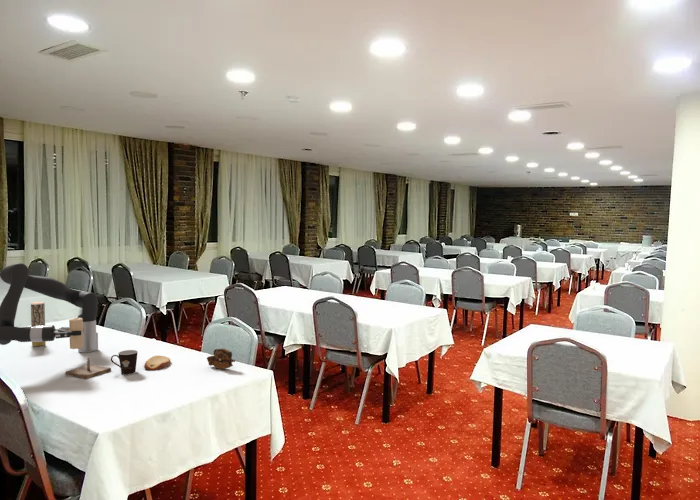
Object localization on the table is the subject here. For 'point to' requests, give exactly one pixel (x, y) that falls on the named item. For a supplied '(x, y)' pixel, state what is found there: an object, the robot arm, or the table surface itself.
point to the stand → (88, 370)
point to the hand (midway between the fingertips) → (82, 331)
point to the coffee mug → (127, 361)
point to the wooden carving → (221, 359)
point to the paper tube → (38, 318)
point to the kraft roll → (76, 325)
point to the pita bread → (157, 363)
